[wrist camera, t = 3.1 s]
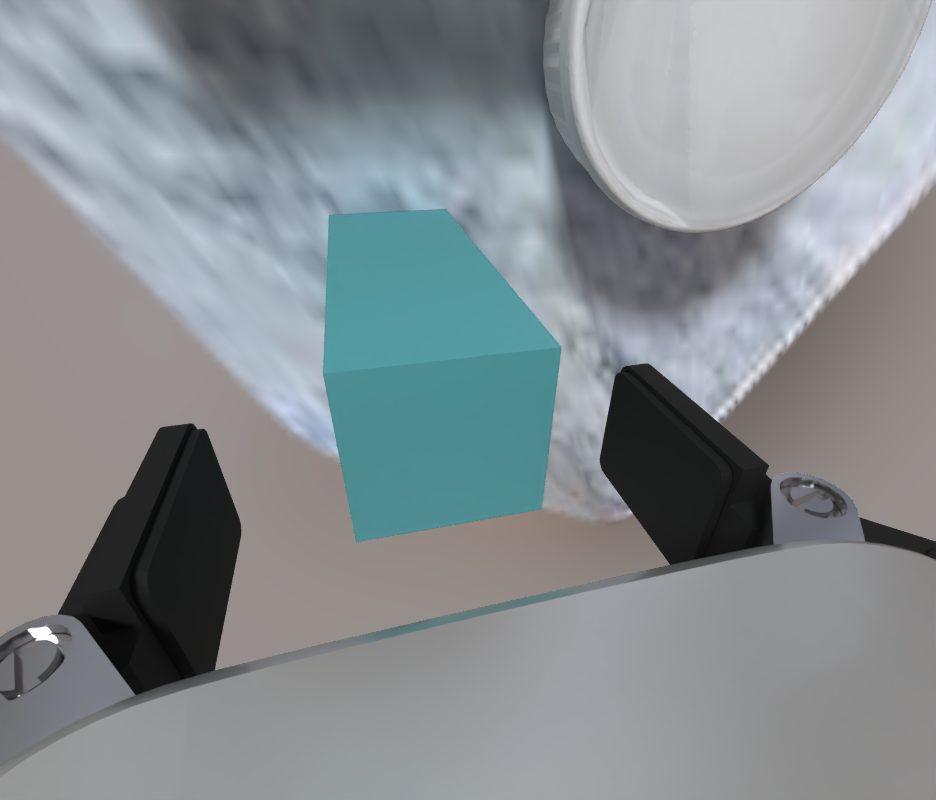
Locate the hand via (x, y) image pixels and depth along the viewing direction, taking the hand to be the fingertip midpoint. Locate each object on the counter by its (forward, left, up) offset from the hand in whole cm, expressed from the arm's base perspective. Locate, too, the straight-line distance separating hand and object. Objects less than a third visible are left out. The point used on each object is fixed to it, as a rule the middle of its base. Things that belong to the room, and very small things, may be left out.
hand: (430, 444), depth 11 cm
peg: (0, -1, -11) cm, 11 cm away
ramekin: (-11, -8, -11) cm, 18 cm away
